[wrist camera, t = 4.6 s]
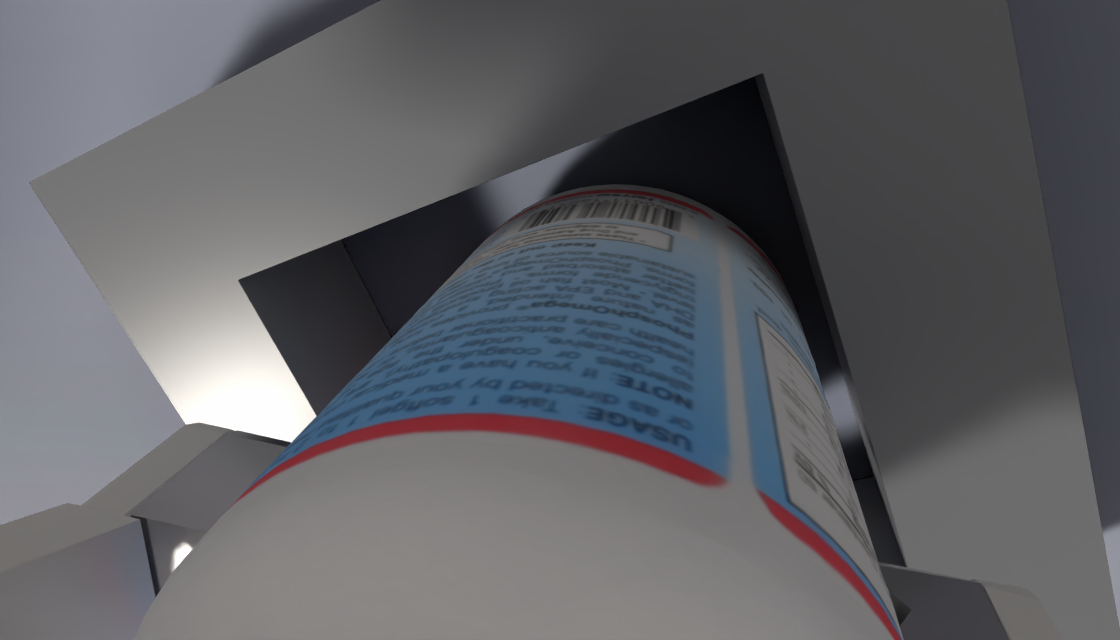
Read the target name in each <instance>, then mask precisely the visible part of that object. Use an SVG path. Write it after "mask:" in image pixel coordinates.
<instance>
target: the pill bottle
mask: <svg viewBox="0 0 1120 640" xmlns="http://www.w3.org/2000/svg"><path fill="white" fill-rule="evenodd" d="M134 640H904V639H903V636H902V633H901V629H900V626H899V623H898V619H897V616H896V613H895V609H894V606H893V603H892V600H891V597H890V594H889V591H888V588H887V586H886V584H885V581H884V578H883V575H882V572H881V569H880V566H879V563H878V560H877V557H876V554H875V551H874V548H873V545H872V542H871V539H870V535H869V532H868V529H867V526H866V523H865V519H864V516H863V513H862V510H861V506H860V503H859V500H858V497H857V494H856V491H855V488H854V485H853V482H852V479H851V476H850V473H849V470H848V467H847V463H846V460H845V457H844V454H843V450H842V447H841V444H840V441H839V438H838V435H837V430H836V426H835V424H834V421H833V417H832V414H831V412H830V407H829V405H828V402H827V400H826V397H825V394H824V392H823V389H822V386H821V382H820V379H819V375H818V372H817V370H816V365H815V362H814V360H813V357H812V355H811V352H810V349H809V346H808V343H807V340H806V337H805V334H804V331H803V327H802V324H801V322H800V319H799V315H798V312H797V309H796V307H795V304H794V302H793V300H792V298H791V295H790V293H789V291H788V289H787V287H786V285H785V283H784V281H783V279H782V277H781V276H780V274H779V272H778V271H777V269H776V268H775V266H774V264H773V263H772V262H771V260H770V259H769V258H768V257H767V255H766V254H765V253H764V252H763V250H762V249H761V248H760V247H759V246H758V245H757V244H756V243H755V242H754V241H753V240H752V239H751V238H750V237H749V236H748V235H747V234H746V233H745V232H743V231H742V230H741V229H740V228H739V227H738V226H737V225H735V224H734V223H733V222H731V221H730V220H728V219H727V218H725V217H724V216H722V215H721V214H719V213H717V212H716V211H714V210H712V209H710V208H709V207H707V206H705V205H703V204H701V203H699V202H697V201H695V200H692V199H690V198H687V197H685V196H682V195H679V194H676V193H672V192H669V191H665V190H662V189H658V188H652V187H645V186H638V185H623V184H610V185H596V186H589V187H583V188H577V189H573V190H569V191H566V192H562V193H559V194H556V195H553V196H551V197H548V198H546V199H543V200H541V201H539V202H537V203H535V204H533V205H531V206H529V207H527V208H526V209H524V210H522V211H521V212H519V213H518V214H516V215H515V216H513V217H512V218H510V219H509V220H508V221H506V222H505V223H504V224H503V225H502V226H500V227H499V228H498V229H497V230H496V231H495V232H494V233H492V234H491V235H490V236H489V237H488V238H487V239H486V240H484V241H483V242H482V244H481V245H480V246H479V247H478V248H477V249H476V250H475V251H474V252H473V253H472V254H471V255H470V256H469V257H468V258H467V260H466V261H465V262H464V263H463V264H462V265H461V266H460V267H459V268H458V269H457V270H456V271H455V272H454V273H453V274H452V276H451V277H450V278H449V279H447V280H446V281H445V283H444V284H443V285H442V286H441V287H440V288H439V289H438V290H437V291H436V292H435V293H434V294H433V295H432V297H431V298H430V299H429V300H428V301H427V302H426V303H425V304H424V305H423V306H422V307H421V308H420V309H419V310H418V311H417V312H416V313H415V314H414V315H413V317H412V318H411V319H410V320H409V321H408V322H407V323H406V324H405V325H404V326H403V327H402V328H401V329H400V330H399V331H398V332H397V333H396V334H395V335H394V336H393V338H392V339H391V340H390V341H389V342H388V343H387V344H386V345H385V346H384V347H383V348H382V349H381V350H380V351H379V352H378V353H377V354H376V355H375V356H374V357H373V358H372V359H371V361H370V362H369V363H368V364H367V365H366V366H365V367H364V368H363V369H362V370H361V371H360V372H359V373H358V374H357V375H356V376H355V377H354V378H353V379H352V380H351V381H350V382H349V383H348V384H347V385H346V386H345V387H344V388H343V389H342V390H341V391H340V392H339V393H338V394H337V395H336V397H335V398H334V399H333V400H332V401H331V402H330V403H329V404H328V405H327V406H326V407H325V408H324V409H323V410H322V411H321V412H320V413H319V414H318V415H317V416H316V417H315V418H314V419H313V420H312V421H311V422H310V423H309V424H308V426H307V427H306V428H305V429H304V430H303V431H302V432H301V433H300V434H299V435H298V436H297V437H296V438H295V439H294V440H293V441H292V442H291V443H290V445H289V446H288V447H287V448H286V449H285V450H284V451H283V452H282V453H281V454H280V455H279V456H278V457H277V458H276V459H275V460H274V461H273V462H272V463H271V464H270V465H269V466H268V467H267V468H266V469H265V470H264V471H263V473H262V474H261V475H260V476H259V477H258V478H257V479H256V480H255V481H254V482H253V483H252V484H251V485H250V486H249V487H248V488H247V490H246V491H245V492H244V493H243V494H242V495H241V496H240V497H239V498H238V499H237V501H236V502H235V503H234V504H233V505H232V506H231V507H230V508H229V509H228V510H227V511H226V512H225V513H224V514H223V515H222V516H221V517H220V518H219V519H218V520H217V522H216V523H215V524H214V525H213V526H212V527H211V528H210V529H209V531H208V532H207V533H206V534H205V535H204V536H203V538H202V539H201V540H200V541H199V542H198V543H197V544H196V545H195V546H194V547H193V548H192V549H191V551H190V552H189V553H188V554H187V555H186V557H185V558H184V559H183V560H182V561H181V563H180V564H179V565H178V566H177V567H176V569H175V570H174V571H173V572H172V573H171V575H170V576H169V578H168V579H167V581H166V582H165V584H164V585H163V587H162V589H161V590H160V592H159V593H158V595H157V596H156V598H155V599H154V601H153V603H152V604H151V606H150V608H149V610H148V611H147V613H146V615H145V616H144V618H143V620H142V622H141V624H140V626H139V628H138V631H137V633H136V635H135V637H134Z"/></svg>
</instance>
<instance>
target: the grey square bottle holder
mask: <svg viewBox="0 0 1120 640" xmlns="http://www.w3.org/2000/svg"><path fill="white" fill-rule="evenodd" d="M754 76H755V79H756V83H757V86H758V89H759V93H760V96H761V100H762V103H763V106H764V110H765V113H766V116H767V120H768V123H769V126H770V130H771V133H772V137H773V140H774V143H775V147H776V150H777V153H778V157H779V160H780V163H781V167H782V170H783V173H784V177H785V180H786V184H787V187H788V190H789V194H790V197H791V200H792V204H793V207H794V210H795V214H796V217H797V221H798V224H799V227H800V231H801V234H802V237H803V241H804V244H805V247H806V251H807V254H808V258H809V261H810V264H811V268H812V271H813V274H814V278H815V281H816V284H817V288H818V291H819V295H820V298H821V301H822V305H823V308H824V311H825V315H826V318H827V321H828V325H829V328H830V332H831V335H832V338H833V342H834V345H835V348H836V352H837V355H838V358H839V362H840V365H841V369H842V372H843V375H844V379H845V382H846V385H847V389H848V392H849V395H850V399H851V402H852V406H853V409H854V412H855V416H856V419H857V422H858V426H859V429H860V432H861V436H862V439H863V443H864V446H865V449H866V453H867V456H868V459H869V463H870V466H871V469H872V473H873V476H874V477H870V478H865V479H860V480H855V481H852V482H853V485H854V488H855V491H856V494H857V497H858V500H859V503H860V506H861V510H862V513H863V516H864V519H865V523H866V526H867V529H868V532H869V535H870V539H871V542H872V545H873V548H874V551H875V554H876V557H877V560H878V562H882V563H887V564H892V565H897V566H902V567H907V568H913V569H918V570H923V571H928V572H933V573H938V574H943V575H948V576H953V577H958V578H963V579H968V580H972V579H976V580H982V581H987V582H993V583H998V584H1004V585H1009V586H1015V587H1021V588H1026V589H1027V590H1029V591H1030V592H1031V593H1032V594H1034V595H1035V596H1036V597H1037V598H1038V599H1039V601H1040V602H1041V604H1042V606H1043V607H1044V609H1045V611H1046V613H1047V614H1048V616H1049V618H1050V619H1051V621H1052V623H1053V625H1054V626H1055V628H1056V630H1057V631H1058V633H1059V635H1060V637H1061V638H1062V640H1120V628H1119V622H1118V616H1117V611H1116V605H1115V600H1114V594H1113V589H1112V583H1111V577H1110V572H1109V566H1108V561H1107V555H1106V549H1105V544H1104V538H1103V533H1102V527H1101V521H1100V516H1099V510H1098V505H1097V499H1096V493H1095V488H1094V482H1093V477H1092V471H1091V466H1090V460H1089V454H1088V449H1087V443H1086V438H1085V432H1084V426H1083V421H1082V415H1081V410H1080V404H1079V398H1078V393H1077V387H1076V382H1075V376H1074V370H1073V365H1072V359H1071V354H1070V348H1069V343H1068V337H1067V331H1066V326H1065V320H1064V315H1063V309H1062V303H1061V298H1060V292H1059V287H1058V281H1057V275H1056V270H1055V264H1054V259H1053V253H1052V247H1051V242H1050V236H1049V231H1048V225H1047V220H1046V214H1045V208H1044V203H1043V197H1042V192H1041V186H1040V180H1039V175H1038V169H1037V164H1036V158H1035V152H1034V147H1033V141H1032V136H1031V130H1030V124H1029V119H1028V113H1027V108H1026V102H1025V97H1024V91H1023V85H1022V80H1021V74H1020V69H1019V63H1018V57H1017V52H1016V46H1015V41H1014V35H1013V29H1012V24H1011V18H1010V13H1009V7H1008V2H1007V0H380V1H378V2H376V3H374V4H372V5H370V6H368V7H367V8H365V9H363V10H361V11H359V12H357V13H355V14H353V15H351V16H349V17H347V18H345V19H343V20H341V21H340V22H338V23H336V24H334V25H332V26H330V27H328V28H326V29H324V30H322V31H320V32H318V33H316V34H314V35H313V36H311V37H309V38H307V39H305V40H303V41H301V42H299V43H297V44H295V45H293V46H291V47H289V48H287V49H286V50H284V51H282V52H280V53H278V54H276V55H274V56H272V57H270V58H268V59H266V60H264V61H262V62H260V63H259V64H257V65H255V66H253V67H251V68H249V69H247V70H245V71H243V72H241V73H239V74H237V75H235V76H233V77H231V78H230V79H228V80H226V81H224V82H222V83H220V84H218V85H216V86H214V87H212V88H210V89H208V90H206V91H204V92H203V93H201V94H199V95H197V96H195V97H193V98H191V99H189V100H187V101H185V102H183V103H181V104H179V105H177V106H176V107H174V108H172V109H170V110H168V111H166V112H164V113H162V114H160V115H158V116H156V117H154V118H152V119H150V120H149V121H147V122H145V123H143V124H141V125H139V126H137V127H135V128H133V129H131V130H129V131H127V132H125V133H123V134H122V135H120V136H118V137H116V138H114V139H112V140H110V141H108V142H106V143H104V144H102V145H100V146H98V147H96V148H95V149H93V150H91V151H89V152H87V153H85V154H83V155H81V156H79V157H77V158H75V159H73V160H71V161H69V162H68V163H66V164H64V165H62V166H60V167H58V168H56V169H54V170H52V171H50V172H48V173H46V174H44V175H42V176H41V177H39V178H37V179H35V180H33V181H31V182H29V184H30V186H31V187H32V189H33V190H34V192H35V193H36V195H37V196H38V198H39V199H40V201H41V202H42V204H43V206H44V207H45V209H46V210H47V212H48V213H49V215H50V216H51V218H52V219H53V221H54V222H55V224H56V226H57V227H58V229H59V230H60V232H61V233H62V235H63V236H64V238H65V239H66V241H67V242H68V244H69V245H70V247H71V249H72V250H73V252H74V253H75V255H76V256H77V258H78V259H79V261H80V262H81V264H82V265H83V267H84V269H85V270H86V272H87V273H88V275H89V276H90V278H91V279H92V281H93V282H94V284H95V285H96V287H97V288H98V290H99V292H100V293H101V295H102V296H103V298H104V299H105V301H106V302H107V304H108V305H109V307H110V308H111V310H112V312H113V313H114V315H115V316H116V318H117V319H118V321H119V322H120V324H121V325H122V327H123V328H124V330H125V331H126V333H127V335H128V336H129V338H130V339H131V341H132V342H133V344H134V345H135V347H136V348H137V350H138V351H139V353H140V355H141V356H142V358H143V359H144V361H145V362H146V364H147V365H148V367H149V368H150V370H151V371H152V373H153V374H154V376H155V378H156V379H157V381H158V382H159V384H160V385H161V387H162V388H163V390H164V391H165V393H166V394H167V396H168V397H169V399H170V401H171V402H172V404H173V405H174V407H175V408H176V410H177V411H178V413H179V414H180V416H181V417H182V419H183V421H184V422H185V424H186V425H187V424H192V423H198V422H200V423H205V424H209V425H214V426H219V427H223V428H228V429H232V430H234V431H236V430H239V431H244V432H248V433H252V434H257V435H261V436H266V437H270V438H274V439H279V440H283V441H288V442H292V441H293V440H294V439H295V438H296V437H297V436H298V435H299V434H300V433H301V432H302V431H303V430H304V429H305V428H306V427H307V426H308V424H309V423H310V422H311V421H312V420H313V419H314V418H315V417H316V416H317V415H318V414H319V413H320V412H321V411H322V410H323V409H324V408H325V407H326V406H327V405H328V404H329V403H330V402H331V401H332V400H333V399H334V398H335V397H336V395H337V394H338V393H339V392H340V391H341V390H342V389H343V388H344V387H345V386H346V385H347V384H348V383H349V382H350V381H351V380H352V379H353V378H354V377H355V376H356V375H357V374H358V373H359V372H360V371H361V370H362V369H363V368H364V367H365V366H366V365H367V364H368V363H369V362H370V361H371V359H372V358H373V357H374V356H375V355H376V354H377V353H378V352H379V351H380V350H381V349H382V348H383V347H384V346H385V345H386V344H387V343H388V342H389V341H390V340H391V339H392V338H391V336H390V334H389V332H388V330H387V328H386V326H385V324H384V322H383V320H382V318H381V317H380V315H379V313H378V311H377V309H376V307H375V305H374V303H373V301H372V299H371V297H370V295H369V293H368V292H367V290H366V288H365V286H364V284H363V282H362V280H361V278H360V276H359V274H358V272H357V270H356V268H355V266H354V265H353V263H352V261H351V259H350V257H349V255H348V253H347V251H346V249H345V247H344V245H343V243H342V241H341V240H340V239H343V238H345V237H348V236H351V235H353V234H356V233H358V232H361V231H363V230H366V229H368V228H371V227H373V226H376V225H378V224H381V223H384V222H386V221H389V220H391V219H394V218H396V217H399V216H401V215H404V214H406V213H409V212H411V211H414V210H416V209H419V208H422V207H424V206H427V205H429V204H432V203H434V202H437V201H439V200H442V199H444V198H447V197H449V196H452V195H455V194H457V193H460V192H462V191H465V190H467V189H470V188H472V187H475V186H477V185H480V184H482V183H485V182H488V181H490V180H493V179H495V178H498V177H500V176H503V175H505V174H508V173H510V172H513V171H515V170H518V169H521V168H523V167H526V166H528V165H531V164H533V163H536V162H538V161H541V160H543V159H546V158H548V157H551V156H554V155H556V154H559V153H561V152H564V151H566V150H569V149H571V148H574V147H576V146H579V145H581V144H584V143H586V142H589V141H592V140H594V139H597V138H599V137H602V136H604V135H607V134H609V133H612V132H614V131H617V130H619V129H622V128H625V127H627V126H630V125H632V124H635V123H637V122H640V121H642V120H645V119H647V118H650V117H652V116H655V115H658V114H660V113H663V112H665V111H668V110H670V109H673V108H675V107H678V106H680V105H683V104H685V103H688V102H691V101H693V100H696V99H698V98H701V97H703V96H706V95H708V94H711V93H713V92H716V91H718V90H721V89H724V88H726V87H729V86H731V85H734V84H736V83H739V82H741V81H744V80H746V79H749V78H751V77H754Z"/></svg>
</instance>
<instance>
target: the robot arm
mask: <svg viewBox="0 0 1120 640" xmlns="http://www.w3.org/2000/svg"><path fill="white" fill-rule="evenodd" d="M290 443H291V442H288V441H283V440H279V439H274V438H270V437H266V436H261V435H257V434H252V433H248V432H244V431H239V430H236V431H234V430H232V429H228V428H223V427H219V426H214V425H209V424H205V423H200V422H198V423H192V424H187V425H184V426H183V427H182V428H180V429H179V430H178V431H177V432H175V433H174V434H173V435H171V436H170V437H169V438H168V439H166V440H165V441H164V442H162V443H161V444H160V445H159V446H157V447H156V448H155V449H153V450H152V451H151V452H150V453H148V454H147V455H146V456H144V457H143V458H142V459H141V460H139V461H138V462H137V463H135V464H134V465H133V466H131V467H130V468H129V469H128V470H126V471H125V472H124V473H122V474H121V475H120V476H119V477H117V478H116V479H115V480H113V481H112V482H111V483H110V484H108V485H107V486H106V487H104V488H103V489H102V490H101V491H99V492H98V493H97V494H95V495H94V496H93V497H92V498H90V499H89V500H88V501H86V502H85V503H84V504H83V505H81V506H79V505H74V504H70V503H66V504H63V505H60V506H57V507H54V508H51V509H48V510H45V511H42V512H39V513H36V514H33V515H30V516H27V517H24V518H21V519H18V520H15V521H12V522H9V523H6V524H2V525H0V640H134V637H135V635H136V633H137V631H138V628H139V626H140V624H141V622H142V620H143V618H144V616H145V615H146V613H147V611H148V610H149V608H150V606H151V604H152V603H153V601H154V599H155V598H156V596H157V595H158V593H159V592H160V590H161V589H162V587H163V585H164V584H165V582H166V581H167V579H168V578H169V576H170V575H171V573H172V572H173V571H174V570H175V569H176V567H177V566H178V565H179V564H180V563H181V561H182V560H183V559H184V558H185V557H186V555H187V554H188V553H189V552H190V551H191V549H192V548H193V547H194V546H195V545H196V544H197V543H198V542H199V541H200V540H201V539H202V538H203V536H204V535H205V534H206V533H207V532H208V531H209V529H210V528H211V527H212V526H213V525H214V524H215V523H216V522H217V520H218V519H219V518H220V517H221V516H222V515H223V514H224V513H225V512H226V511H227V510H228V509H229V508H230V507H231V506H232V505H233V504H234V503H235V502H236V501H237V499H238V498H239V497H240V496H241V495H242V494H243V493H244V492H245V491H246V490H247V488H248V487H249V486H250V485H251V484H252V483H253V482H254V481H255V480H256V479H257V478H258V477H259V476H260V475H261V474H262V473H263V471H264V470H265V469H266V468H267V467H268V466H269V465H270V464H271V463H272V462H273V461H274V460H275V459H276V458H277V457H278V456H279V455H280V454H281V453H282V452H283V451H284V450H285V449H286V448H287V447H288V446H289V445H290ZM878 563H879V566H880V569H881V572H882V575H883V578H884V581H885V584H886V586H887V588H888V591H889V594H890V597H891V600H892V603H893V606H894V609H895V613H896V616H897V619H898V623H899V626H900V629H901V633H902V636H903V639H904V640H1062V638H1061V637H1060V635H1059V633H1058V631H1057V630H1056V628H1055V626H1054V625H1053V623H1052V621H1051V619H1050V618H1049V616H1048V614H1047V613H1046V611H1045V609H1044V607H1043V606H1042V604H1041V602H1040V601H1039V599H1038V598H1037V597H1036V596H1035V595H1034V594H1032V593H1031V592H1030V591H1029V590H1027V589H1026V588H1021V587H1015V586H1009V585H1004V584H998V583H993V582H987V581H982V580H976V579H972V580H968V579H963V578H958V577H953V576H948V575H943V574H938V573H933V572H928V571H923V570H918V569H913V568H907V567H902V566H897V565H892V564H887V563H882V562H878Z"/></svg>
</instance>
